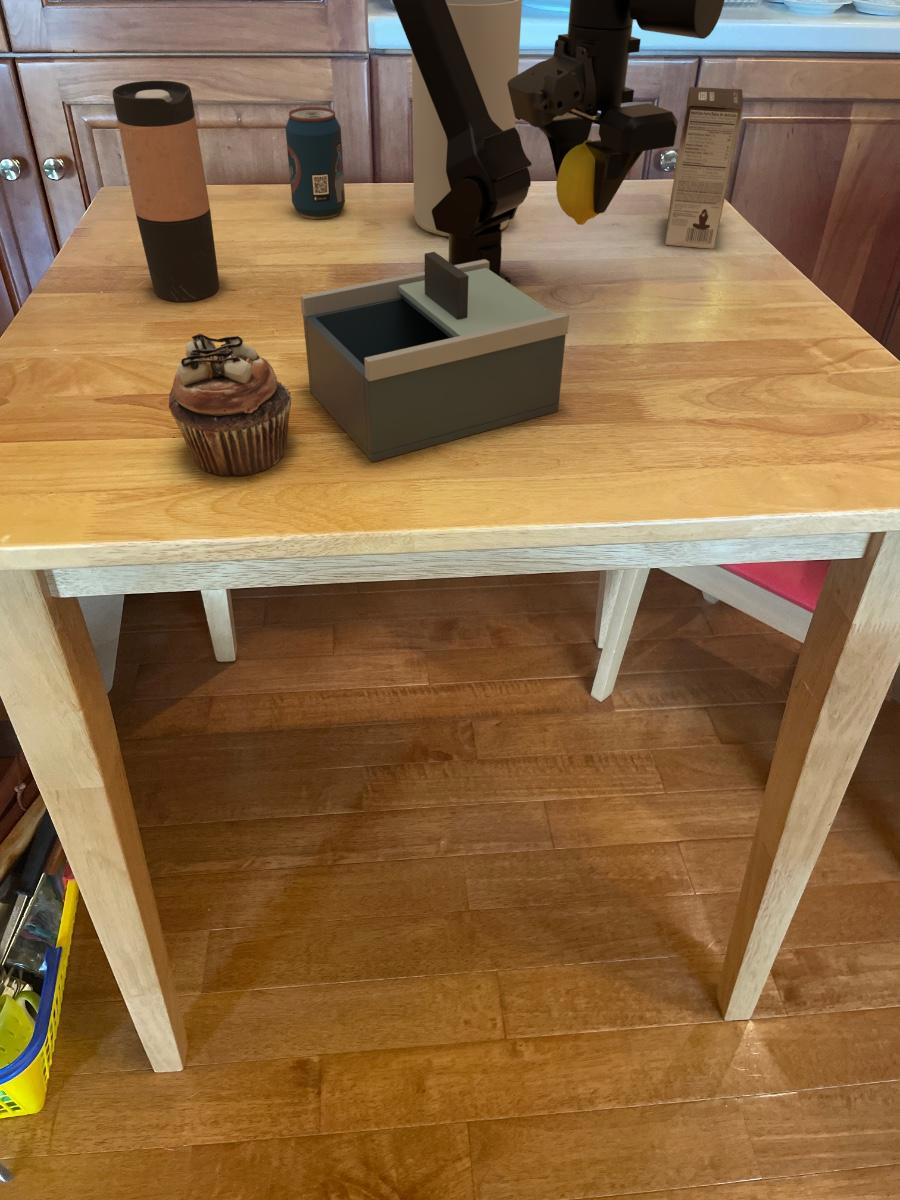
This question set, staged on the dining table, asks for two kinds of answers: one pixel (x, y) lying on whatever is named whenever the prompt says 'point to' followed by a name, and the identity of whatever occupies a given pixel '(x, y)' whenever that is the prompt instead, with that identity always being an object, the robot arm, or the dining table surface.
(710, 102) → the coffee box
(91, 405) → the dining table surface
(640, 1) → the robot arm
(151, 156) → the travel mug
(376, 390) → the chest
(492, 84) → the cylinder vase
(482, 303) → the slide door
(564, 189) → the lemon
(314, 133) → the soda can
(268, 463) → the cupcake
